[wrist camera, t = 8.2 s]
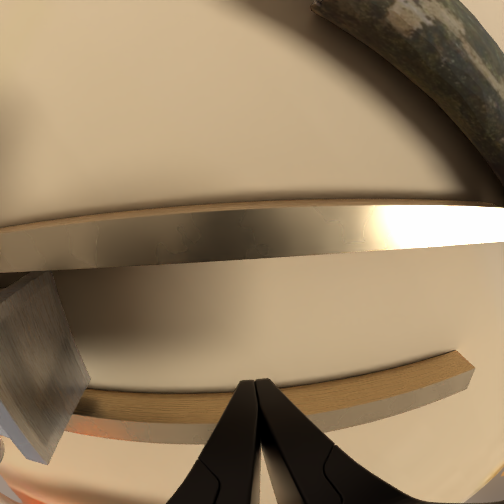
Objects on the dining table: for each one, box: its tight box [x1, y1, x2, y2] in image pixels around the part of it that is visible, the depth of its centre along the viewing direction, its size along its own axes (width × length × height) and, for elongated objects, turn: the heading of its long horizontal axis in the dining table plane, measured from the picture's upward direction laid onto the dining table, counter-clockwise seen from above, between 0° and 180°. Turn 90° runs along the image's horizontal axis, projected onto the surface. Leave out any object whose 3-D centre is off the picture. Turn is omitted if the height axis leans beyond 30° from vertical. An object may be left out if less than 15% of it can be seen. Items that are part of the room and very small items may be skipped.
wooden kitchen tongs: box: [0, 199, 504, 463], centre depth 8 cm, size 16×36×9 cm, turn 92°
